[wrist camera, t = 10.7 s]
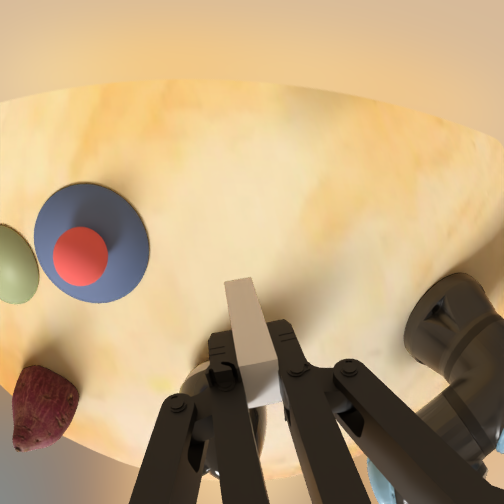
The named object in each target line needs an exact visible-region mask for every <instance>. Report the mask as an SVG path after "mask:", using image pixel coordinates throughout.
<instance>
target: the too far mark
mask: <svg viewBox="0 0 504 504" xmlns="http://www.w3.org/2000/svg"><path fill="white" fill-rule="evenodd" d="M38 282H39V273H38V266H37V263H36V259H35V257H34V255H33V253H32V251H31V249H30V247H29V246H28V244H27V243H26V242H25V240H24V239H23V238H22V237H21V236H20V235H19V234H18V233H17V232H15V231H14V230H12V229H10V228H8V227H6V226H3V225H0V300H2V301H4V302H7V303H10V304H22V303H25V302H27V301H28V300H30V299H31V298H32V297H33V295H34V294H35V292H36V290H37V287H38Z"/></svg>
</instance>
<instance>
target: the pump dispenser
mask: <svg viewBox="0 0 504 504" xmlns="http://www.w3.org/2000/svg"><path fill="white" fill-rule="evenodd" d="M209 365H210V361H207V362H204V363H202V364H200V365H198V366H197V367H196V368H194V369H193V370H192V371H191V372H190V373H189V375H188V376H187V378H186V380H185V382H184V383H183V384H182V386H181V388H180V391H179V393H184V394H188V395H189V396H190V397H192V396H194V395H197V394H199V393H201V392H203V391H204V390H205V389H206V388H207V387H208V386H209V384H208V381H207V378H206V375H205V372H206V369H207V367H208V366H209ZM249 413H250V417H251V422H252V426H253V431H254V436H255V440H256V445H257V450H258V454H259V459H260V456H261V453H262V449H263V445H264V440H265V434H266V425H267V409H266V405H264V406H259V407H254V408H249ZM207 473H210V474H211V475H212V476H214V477H215V478H217V479H219V472H218V464H217V455H216V447H215V437H213V438H211V439H209V443H208V448H207V453H206V458H205V463H204V468H203V473H202V476H203V475H205V474H207Z"/></svg>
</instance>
